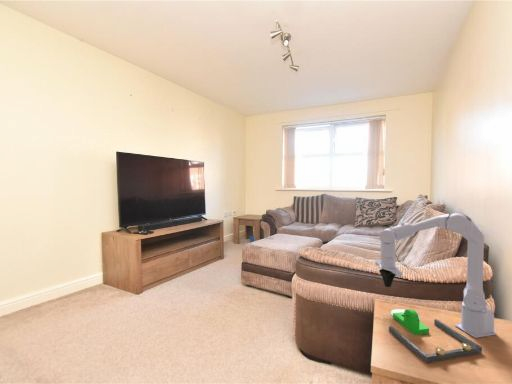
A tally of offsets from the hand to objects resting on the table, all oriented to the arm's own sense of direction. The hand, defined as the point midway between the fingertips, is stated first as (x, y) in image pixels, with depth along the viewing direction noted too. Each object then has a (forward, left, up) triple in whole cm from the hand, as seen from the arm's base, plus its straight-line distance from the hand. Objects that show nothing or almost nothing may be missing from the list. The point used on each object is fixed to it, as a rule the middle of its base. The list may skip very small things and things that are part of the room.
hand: (387, 286), depth 114 cm
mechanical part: (+1, +14, -10) cm, 17 cm away
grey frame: (+1, +24, -10) cm, 26 cm away
